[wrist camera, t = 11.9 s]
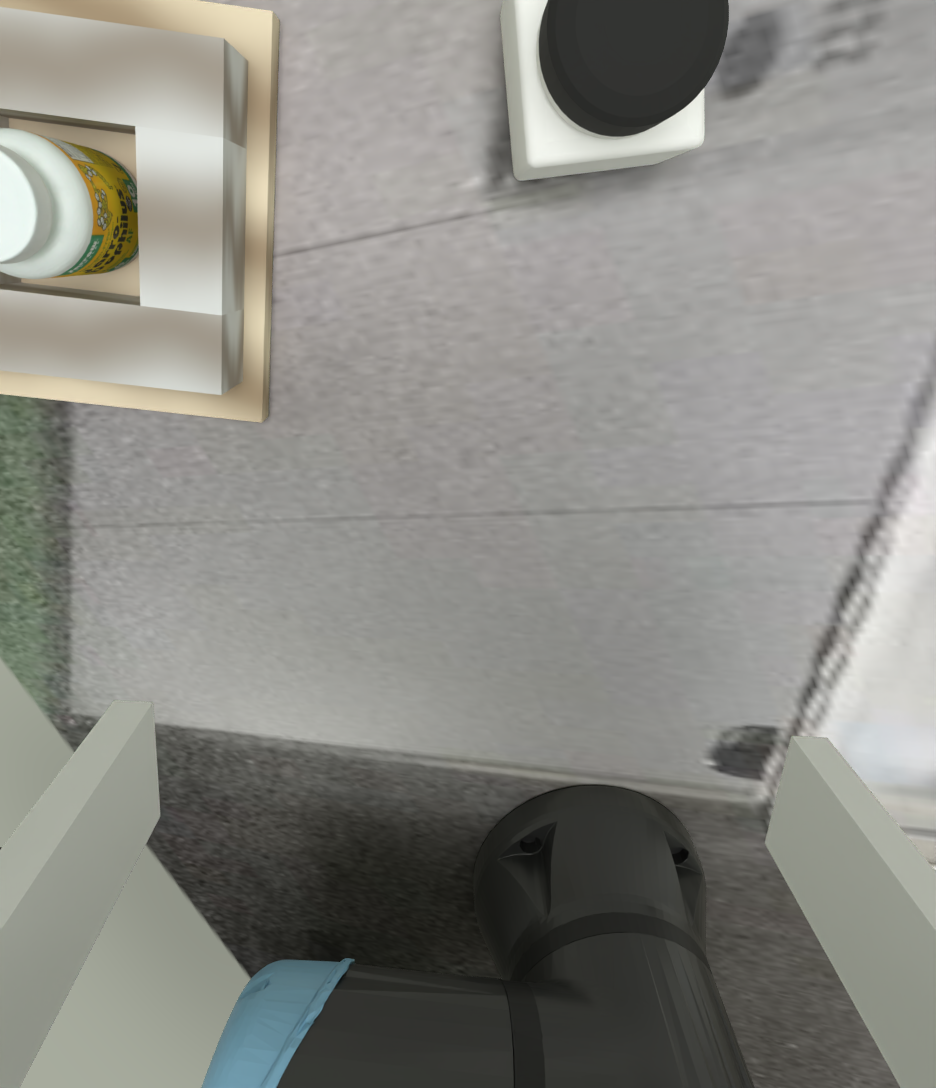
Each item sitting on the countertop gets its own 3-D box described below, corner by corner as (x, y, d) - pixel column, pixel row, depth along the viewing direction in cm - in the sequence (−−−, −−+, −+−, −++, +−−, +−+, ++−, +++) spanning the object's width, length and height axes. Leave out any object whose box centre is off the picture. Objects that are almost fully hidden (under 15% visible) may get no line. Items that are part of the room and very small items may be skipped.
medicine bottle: (661, 164, 38) (752, 128, 26) (513, 182, 38) (541, 155, 26) (657, -11, 35) (755, -133, 24) (498, 9, 35) (522, -103, 24)
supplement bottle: (51, 126, 35) (-85, 83, 26) (167, 182, 36) (75, 160, 27) (21, 243, 37) (-117, 240, 28) (132, 294, 38) (34, 307, 29)
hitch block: (268, 416, 41) (242, 440, 36) (-46, 382, 40) (-117, 401, 35) (279, 20, 35) (250, -19, 30) (-91, -33, 34) (-187, -83, 29)
